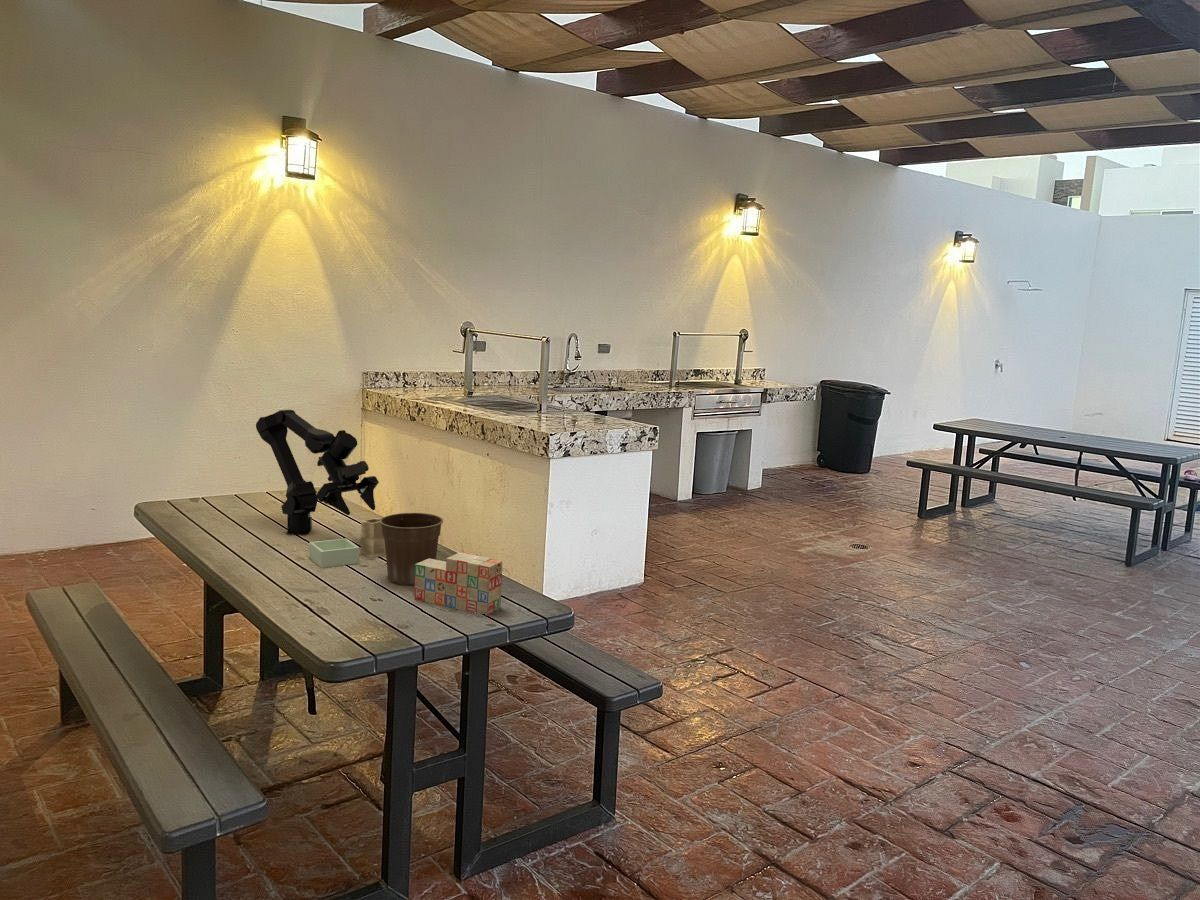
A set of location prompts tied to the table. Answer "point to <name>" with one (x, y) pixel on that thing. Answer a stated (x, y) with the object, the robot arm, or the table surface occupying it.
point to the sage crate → (333, 552)
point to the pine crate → (372, 538)
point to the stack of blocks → (460, 582)
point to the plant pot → (409, 543)
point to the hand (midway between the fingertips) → (361, 512)
